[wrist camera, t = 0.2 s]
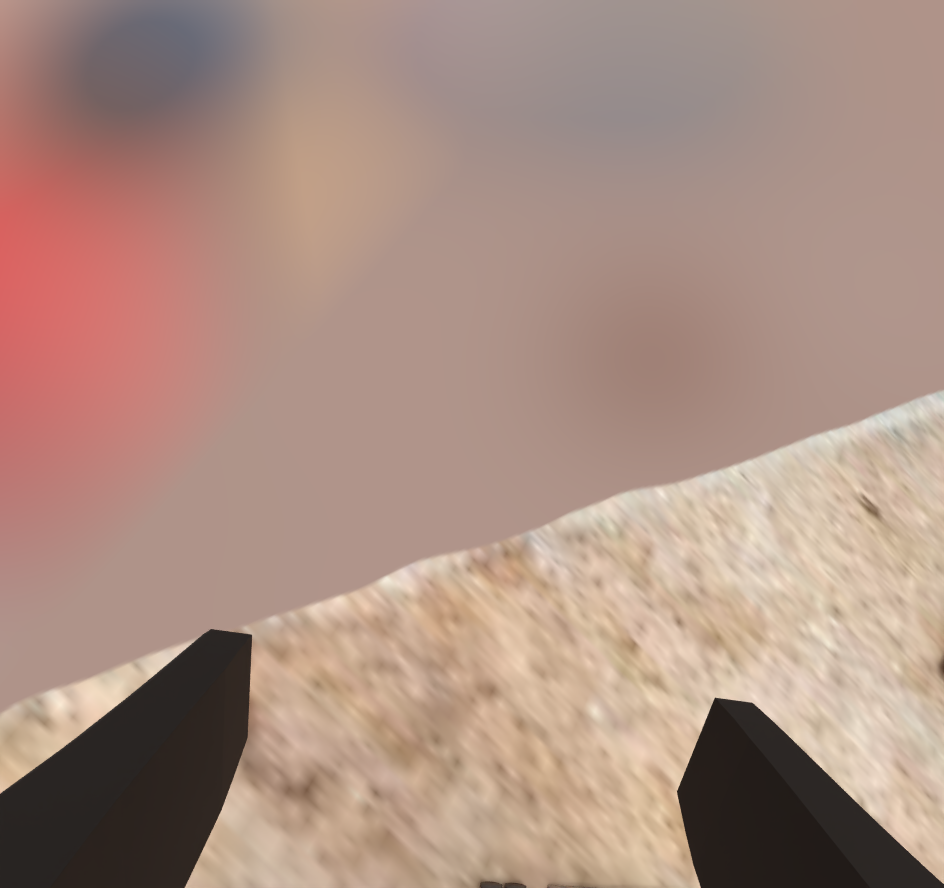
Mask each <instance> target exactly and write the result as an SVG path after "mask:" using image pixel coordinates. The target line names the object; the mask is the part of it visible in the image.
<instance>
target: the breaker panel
mask: <svg viewBox="0 0 944 888" xmlns="http://www.w3.org/2000/svg"><path fill="white" fill-rule="evenodd" d="M548 888H589V887H571V886H553V885H548Z"/></svg>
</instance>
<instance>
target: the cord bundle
mask: <svg viewBox="0 0 944 888" xmlns="http://www.w3.org/2000/svg"><path fill="white" fill-rule="evenodd" d="M481 888H502V884H499V883H495V882H482V883H481ZM505 888H526V886H525V885H522V884H517V883H507V884H505Z"/></svg>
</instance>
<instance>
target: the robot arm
mask: <svg viewBox="0 0 944 888" xmlns="http://www.w3.org/2000/svg"><path fill="white" fill-rule="evenodd" d="M251 647H252V635H250V634H243V633H236V632H228V631H220V630H214V629H211V630H209V631H208V632H206V633H205V634H203V635H202V636H201V637H200V638H198V639H197V640H196V641H195V642H194V643H192V644H191V645H190V646H189V647H188V648H186V649H185V650H184V651H183V652H182V653H180V654H179V655H178V656H177V657H176V658H175V659H173V660H172V661H171V662H170V663H169V664H167V665H166V666H165V667H164V668H163V669H161V670H160V671H159V672H158V673H157V674H155V675H154V676H153V677H152V678H151V679H149V680H148V681H147V682H146V683H144V684H143V685H142V686H141V687H140V688H138V689H137V690H136V691H135V692H134V693H132V694H131V695H130V696H129V697H127V698H126V699H125V700H124V701H122V702H121V703H120V704H119V705H117V706H116V707H115V708H113V709H112V710H111V711H110V712H108V713H107V714H106V715H105V716H103V717H102V718H101V719H99V720H98V721H97V722H96V723H94V724H93V725H92V726H91V727H89V728H88V729H87V730H86V731H84V732H83V733H82V734H80V735H79V736H78V737H77V738H75V739H74V740H73V741H71V742H70V743H69V744H67V745H66V746H65V747H63V748H62V749H61V750H59V751H58V752H57V753H55V754H54V755H53V756H51V757H50V758H48V759H47V760H46V761H44V762H43V763H42V764H40V765H39V766H37V767H36V768H35V769H33V770H32V771H31V772H29V773H28V774H27V775H25V776H24V777H22V778H21V779H20V780H18V781H17V782H16V783H14V784H13V785H11V786H10V787H9V788H7V789H6V790H5V791H3V792H2V793H0V888H185V886H186V884H187V882H188V880H189V877H190V875H191V873H192V871H193V869H194V867H195V865H196V863H197V861H198V859H199V856H200V854H201V852H202V850H203V848H204V846H205V844H206V842H207V840H208V837H209V835H210V833H211V831H212V829H213V827H214V825H215V823H216V820H217V818H218V816H219V814H220V812H221V810H222V807H223V804H224V802H225V799H226V796H227V794H228V791H229V788H230V785H231V783H232V780H233V777H234V774H235V772H236V769H237V766H238V763H239V760H240V757H241V755H242V752H243V749H244V746H245V743H246V740H247V737H248V714H249V692H250V670H251ZM677 794H678V799H679V803H680V808H681V813H682V818H683V822H684V827H685V832H686V836H687V840H688V844H689V848H690V852H691V856H692V860H693V865H694V868H695V871H696V874H697V877H698V880H699V883H700V886H701V888H944V884H943V883H942V882H941V881H939V880H938V879H937V878H936V877H935V876H934V875H933V874H932V873H931V872H929V871H928V870H927V869H926V868H925V867H924V866H923V865H922V864H921V863H920V862H919V861H918V860H917V859H915V858H914V857H913V856H912V855H911V854H910V853H909V852H908V851H907V850H906V849H905V848H904V847H903V846H901V845H900V844H899V843H898V842H897V841H896V840H895V839H894V838H893V837H892V836H891V835H890V834H889V833H888V832H887V831H886V830H885V829H884V828H882V827H881V826H880V825H879V824H878V823H877V822H876V821H875V820H874V819H873V818H872V817H871V816H870V815H869V814H868V813H867V812H866V811H865V810H864V809H863V808H862V807H861V806H860V805H859V804H858V803H856V802H855V801H854V800H853V799H852V798H851V797H850V796H849V795H848V794H847V793H846V792H845V791H844V790H843V789H842V788H841V787H840V786H839V785H838V784H837V783H836V782H835V781H834V780H833V779H832V778H831V777H830V776H829V775H828V774H827V773H826V772H825V771H824V770H823V769H822V768H821V767H820V766H819V765H818V764H816V763H815V762H814V761H813V760H812V759H811V758H810V757H809V756H808V755H807V754H806V753H805V752H804V751H803V750H802V749H801V748H800V747H799V746H798V745H797V744H796V743H795V742H794V741H793V740H792V739H791V738H790V737H789V736H788V735H787V734H786V733H785V732H784V731H783V730H781V729H780V728H779V727H778V726H777V725H776V724H775V723H774V722H773V721H772V720H771V719H770V718H769V717H768V716H767V715H765V714H764V713H763V712H762V711H761V710H760V709H759V708H758V707H756V706H755V705H754V704H753V703H750V702H742V701H735V700H728V699H720V698H715V699H714V701H713V704H712V706H711V709H710V711H709V714H708V716H707V719H706V721H705V724H704V726H703V729H702V731H701V734H700V736H699V739H698V741H697V743H696V746H695V748H694V751H693V753H692V756H691V758H690V761H689V763H688V766H687V768H686V771H685V773H684V776H683V778H682V781H681V783H680V786H679V788H678V790H677Z"/></svg>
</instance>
